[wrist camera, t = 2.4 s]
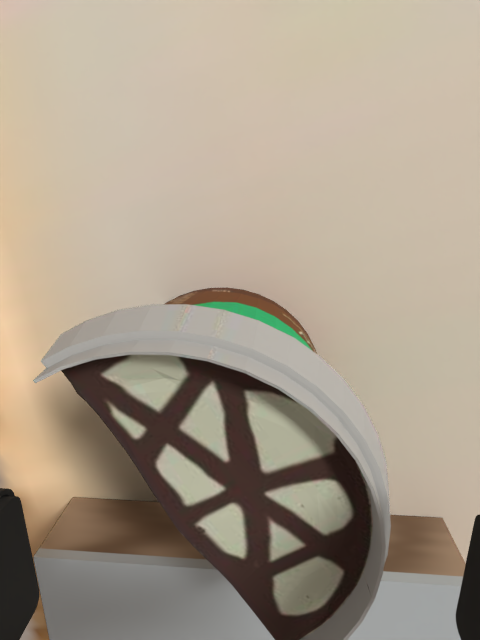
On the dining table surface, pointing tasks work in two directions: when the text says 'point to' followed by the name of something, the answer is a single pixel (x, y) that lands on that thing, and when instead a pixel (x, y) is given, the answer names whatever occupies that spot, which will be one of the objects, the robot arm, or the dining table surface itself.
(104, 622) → the pedestal
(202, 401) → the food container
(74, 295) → the dining table surface
